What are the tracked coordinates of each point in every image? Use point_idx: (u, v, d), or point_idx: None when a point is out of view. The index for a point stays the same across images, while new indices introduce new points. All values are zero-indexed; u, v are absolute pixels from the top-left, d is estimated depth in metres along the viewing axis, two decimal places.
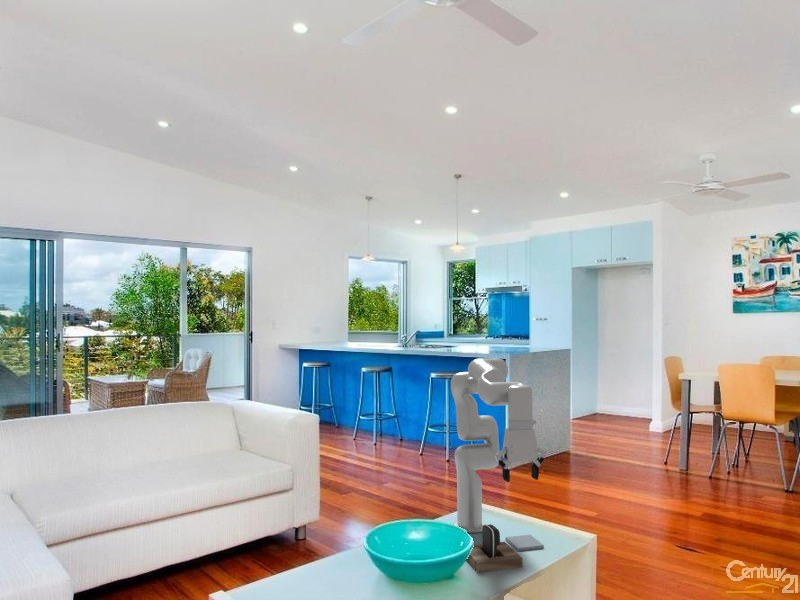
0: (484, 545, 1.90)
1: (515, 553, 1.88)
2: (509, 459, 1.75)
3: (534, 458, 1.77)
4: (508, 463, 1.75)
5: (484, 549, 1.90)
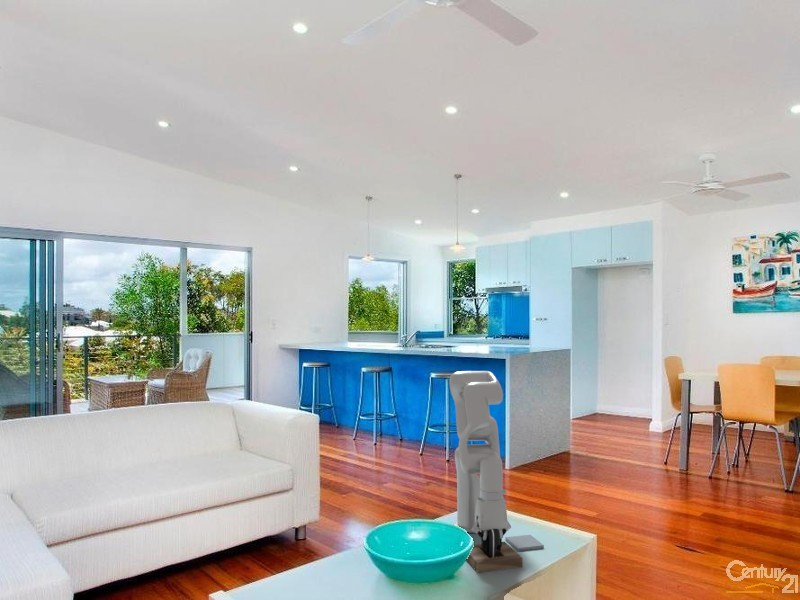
0: None
1: (515, 553, 1.88)
2: (480, 528, 1.87)
3: (504, 526, 1.89)
4: (485, 534, 1.88)
5: None
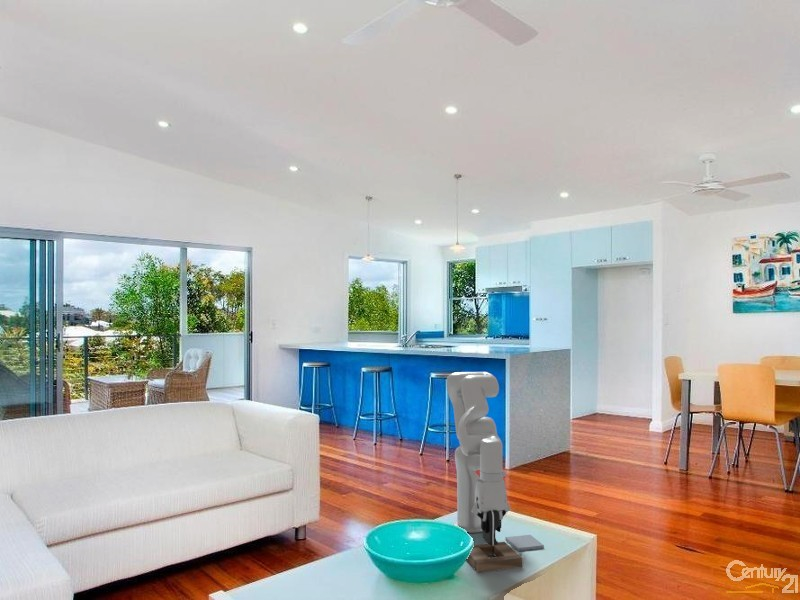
0: None
1: (515, 553, 1.88)
2: (480, 509, 1.87)
3: (504, 507, 1.89)
4: (484, 515, 1.88)
5: None
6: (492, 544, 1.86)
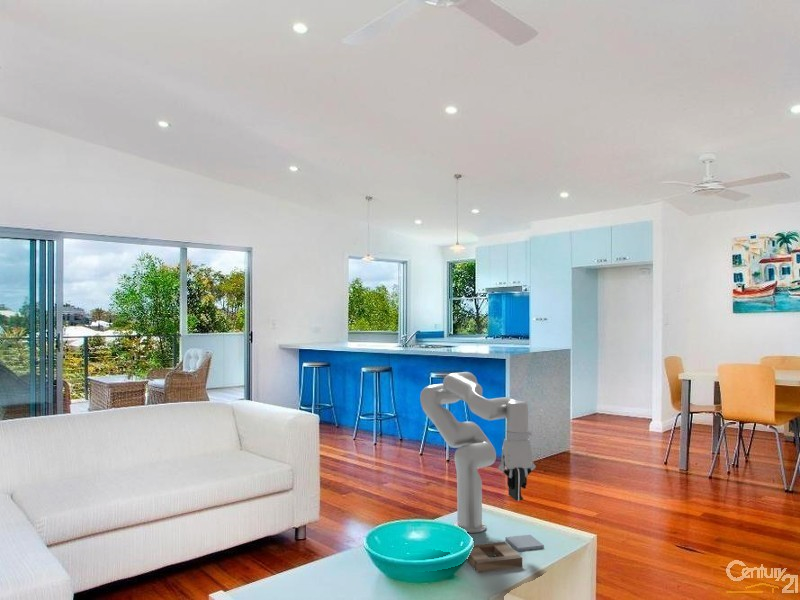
0: None
1: (515, 553, 1.88)
2: (506, 466, 1.99)
3: (529, 465, 2.00)
4: (510, 472, 1.99)
5: None
6: (518, 499, 1.98)
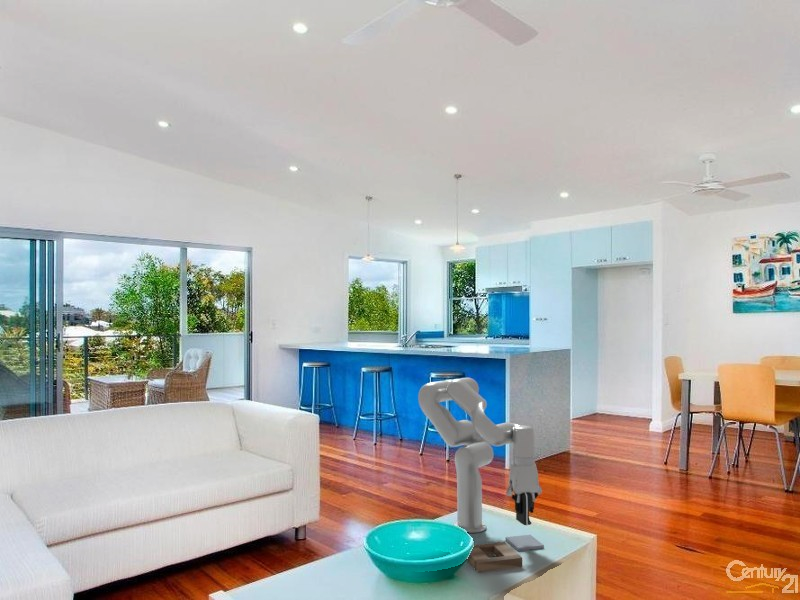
0: None
1: (515, 553, 1.88)
2: (514, 491, 2.01)
3: (536, 490, 2.03)
4: (518, 497, 2.02)
5: None
6: (526, 524, 2.00)
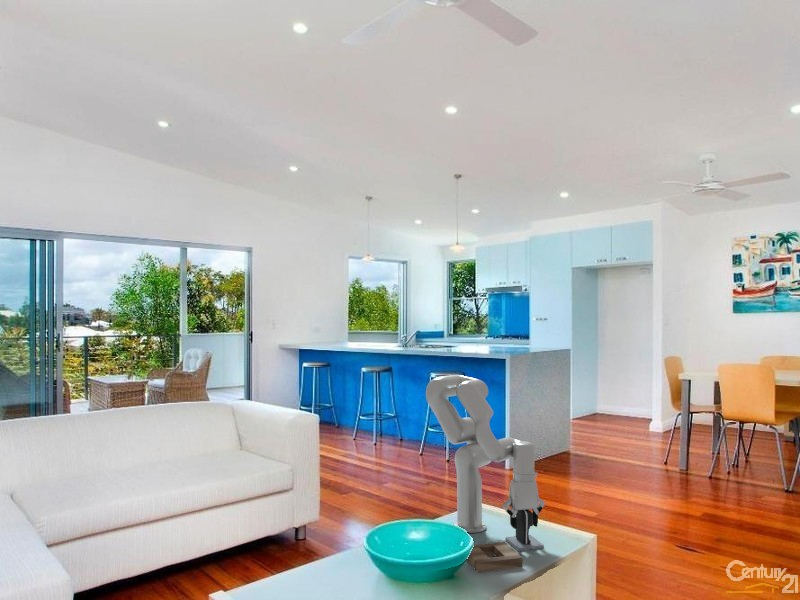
0: (518, 526, 2.04)
1: (515, 553, 1.88)
2: (514, 507, 2.01)
3: (536, 506, 2.03)
4: (515, 512, 2.01)
5: (517, 530, 2.05)
6: (525, 542, 2.00)
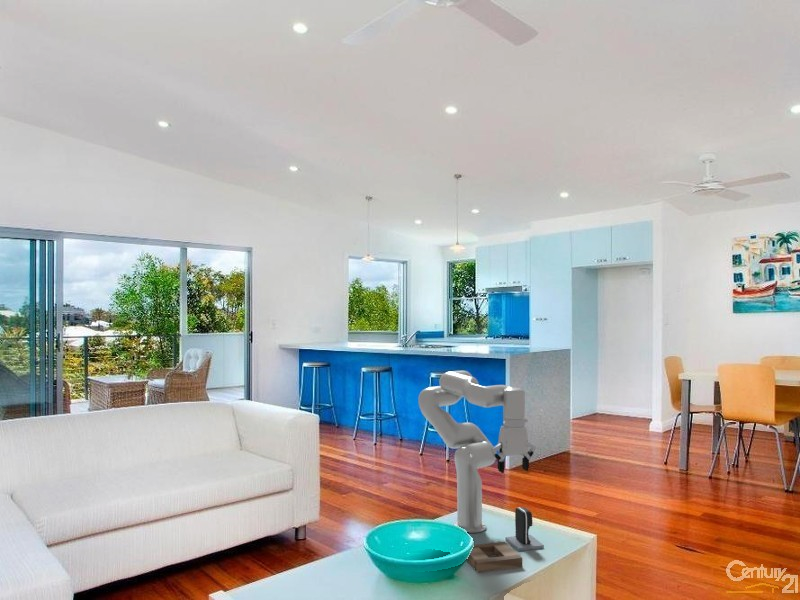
0: (517, 526, 2.04)
1: (515, 553, 1.88)
2: (504, 453, 2.00)
3: (525, 452, 2.02)
4: (503, 456, 2.00)
5: (517, 530, 2.05)
6: (525, 543, 2.00)
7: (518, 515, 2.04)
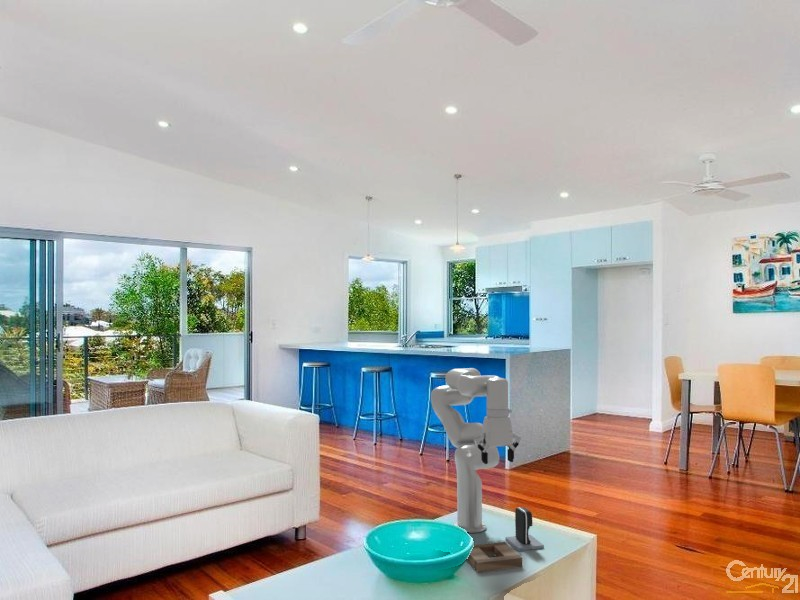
0: (517, 526, 2.04)
1: (515, 553, 1.88)
2: (487, 443, 1.97)
3: (509, 443, 1.99)
4: (486, 447, 1.97)
5: (517, 530, 2.05)
6: (525, 543, 2.00)
7: (518, 515, 2.04)
